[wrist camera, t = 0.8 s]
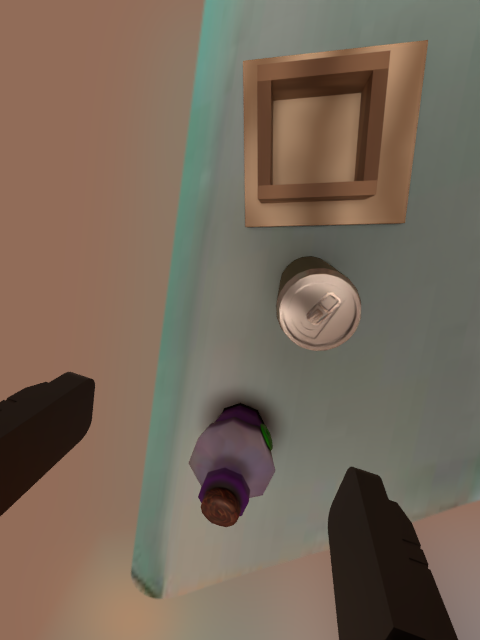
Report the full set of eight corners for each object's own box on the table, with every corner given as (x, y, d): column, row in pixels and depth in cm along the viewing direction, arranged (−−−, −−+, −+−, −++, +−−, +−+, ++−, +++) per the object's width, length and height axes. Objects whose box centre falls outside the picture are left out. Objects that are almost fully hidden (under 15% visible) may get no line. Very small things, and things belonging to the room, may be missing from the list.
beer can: (306, 244, 29) (318, 250, 17) (346, 280, 29) (385, 311, 18) (269, 285, 30) (257, 315, 19) (307, 319, 31) (319, 370, 19)
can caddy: (421, 49, 23) (453, 5, 19) (399, 223, 27) (422, 221, 22) (245, 68, 25) (236, 33, 21) (247, 227, 29) (239, 225, 25)
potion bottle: (293, 427, 34) (295, 522, 23) (242, 466, 37) (223, 568, 26) (239, 377, 34) (215, 450, 22) (192, 420, 36) (148, 505, 25)
